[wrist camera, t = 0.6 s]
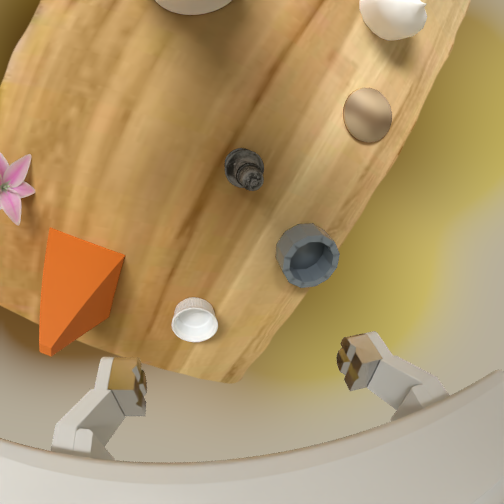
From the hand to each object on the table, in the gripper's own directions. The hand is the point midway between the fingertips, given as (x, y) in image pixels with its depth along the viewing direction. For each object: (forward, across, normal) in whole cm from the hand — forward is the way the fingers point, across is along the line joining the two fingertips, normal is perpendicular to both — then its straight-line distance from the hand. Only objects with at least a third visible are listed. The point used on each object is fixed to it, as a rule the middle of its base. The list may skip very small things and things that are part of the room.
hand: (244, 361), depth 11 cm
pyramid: (+40, +25, +20) cm, 51 cm away
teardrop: (+40, -31, -30) cm, 58 cm away
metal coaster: (+39, -28, -9) cm, 49 cm away
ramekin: (+40, +3, +30) cm, 50 cm away
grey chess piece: (+40, -6, +1) cm, 40 cm away
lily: (+40, +34, 0) cm, 52 cm away
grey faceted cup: (+39, -18, +17) cm, 46 cm away
